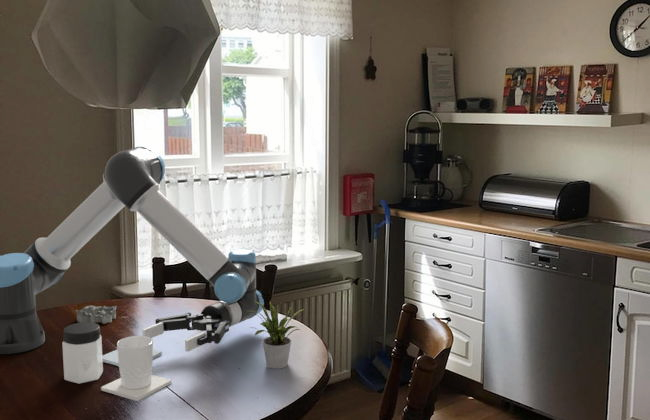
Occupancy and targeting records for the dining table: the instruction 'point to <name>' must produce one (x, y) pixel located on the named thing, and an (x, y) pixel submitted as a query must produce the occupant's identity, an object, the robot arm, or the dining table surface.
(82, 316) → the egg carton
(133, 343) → the white cup
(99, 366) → the jar
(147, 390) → the tile shorter
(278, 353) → the house plant
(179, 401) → the dining table surface
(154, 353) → the light grey square tile
